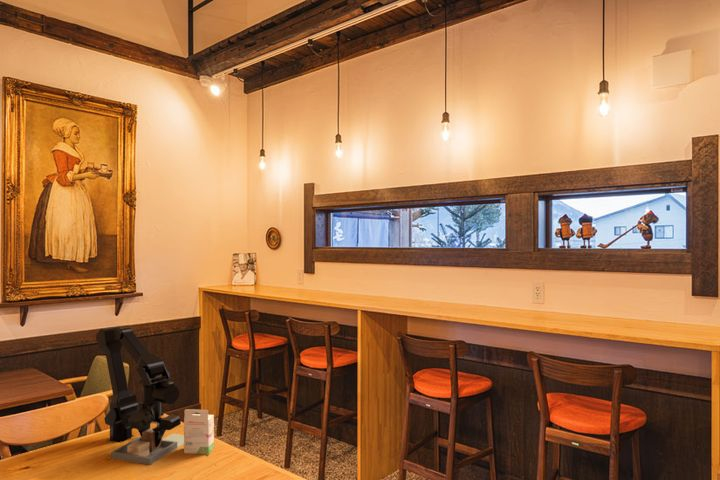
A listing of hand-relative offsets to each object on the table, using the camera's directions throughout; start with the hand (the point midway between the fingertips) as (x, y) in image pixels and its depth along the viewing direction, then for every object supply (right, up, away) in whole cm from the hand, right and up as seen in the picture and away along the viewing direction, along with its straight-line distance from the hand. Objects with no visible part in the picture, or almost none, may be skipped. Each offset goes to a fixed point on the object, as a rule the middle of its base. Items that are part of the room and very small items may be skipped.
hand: (151, 445), depth 161 cm
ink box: (+16, -2, -1) cm, 16 cm away
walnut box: (0, -1, 0) cm, 1 cm away
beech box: (-2, -1, -6) cm, 6 cm away
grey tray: (-1, -2, -3) cm, 3 cm away
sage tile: (+5, -2, +7) cm, 9 cm away
